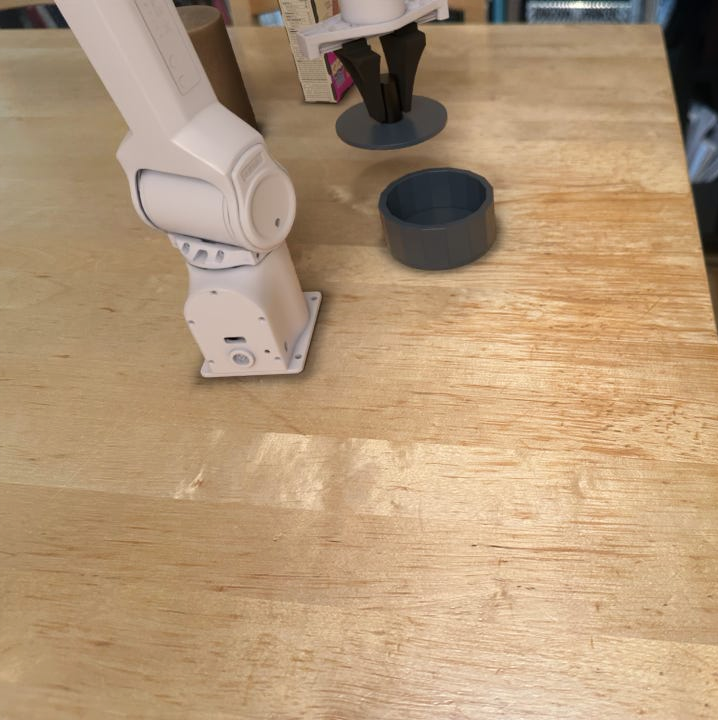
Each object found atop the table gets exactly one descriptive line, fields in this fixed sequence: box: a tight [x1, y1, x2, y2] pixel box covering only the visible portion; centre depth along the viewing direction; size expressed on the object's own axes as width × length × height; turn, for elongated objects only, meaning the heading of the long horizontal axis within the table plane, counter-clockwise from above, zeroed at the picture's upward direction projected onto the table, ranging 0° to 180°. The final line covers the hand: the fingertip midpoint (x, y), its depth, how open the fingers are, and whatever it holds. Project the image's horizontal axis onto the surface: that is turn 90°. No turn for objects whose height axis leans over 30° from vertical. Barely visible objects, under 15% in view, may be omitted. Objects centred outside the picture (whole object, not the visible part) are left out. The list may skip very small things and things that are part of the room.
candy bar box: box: [276, 0, 354, 104], centre depth 83 cm, size 11×5×16 cm, turn 168°
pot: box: [377, 166, 497, 271], centre depth 61 cm, size 10×10×4 cm
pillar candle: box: [175, 4, 261, 134], centre depth 74 cm, size 10×10×15 cm
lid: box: [334, 72, 449, 151], centre depth 64 cm, size 11×11×5 cm
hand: (390, 113), depth 65 cm, fingers closed on lid, 2 cm apart
